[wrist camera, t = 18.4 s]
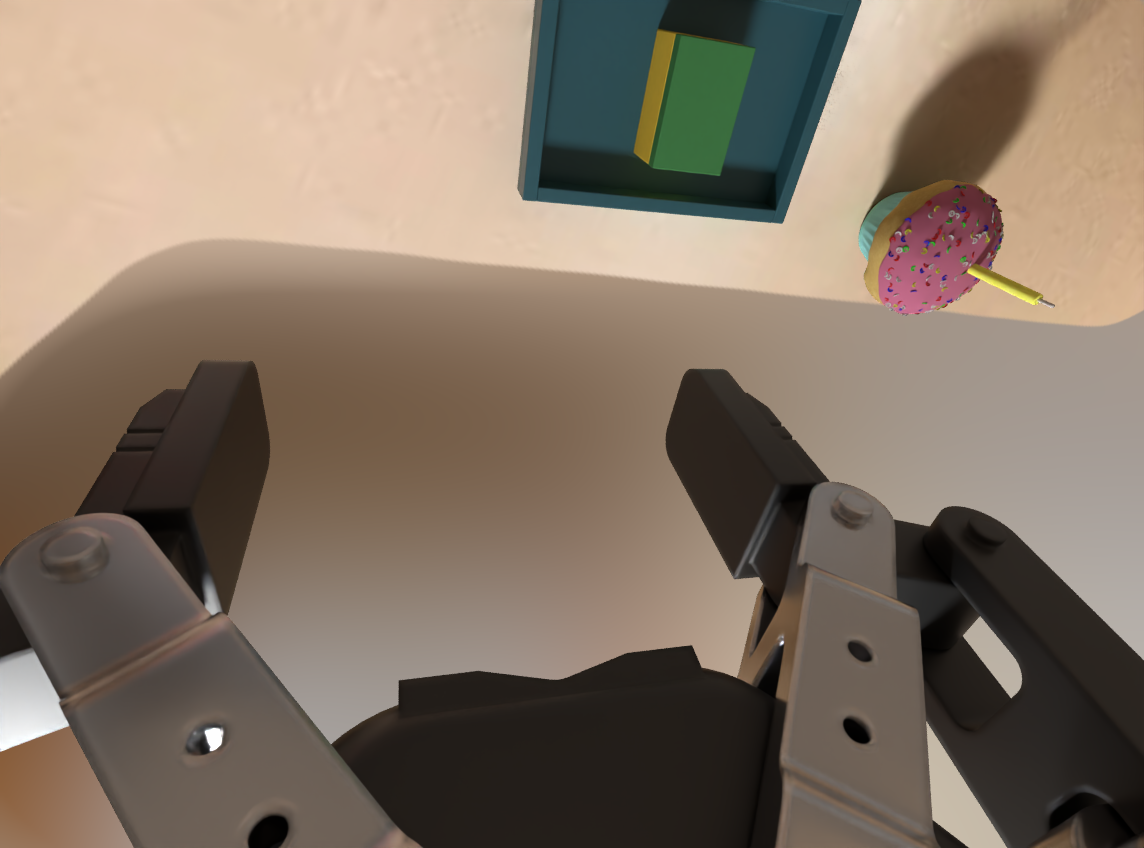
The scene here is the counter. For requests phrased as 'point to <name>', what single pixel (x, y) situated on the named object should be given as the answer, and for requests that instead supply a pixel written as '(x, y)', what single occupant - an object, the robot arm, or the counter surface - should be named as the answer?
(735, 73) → the sponge
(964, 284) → the cupcake
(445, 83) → the counter surface
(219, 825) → the robot arm
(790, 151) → the tray
